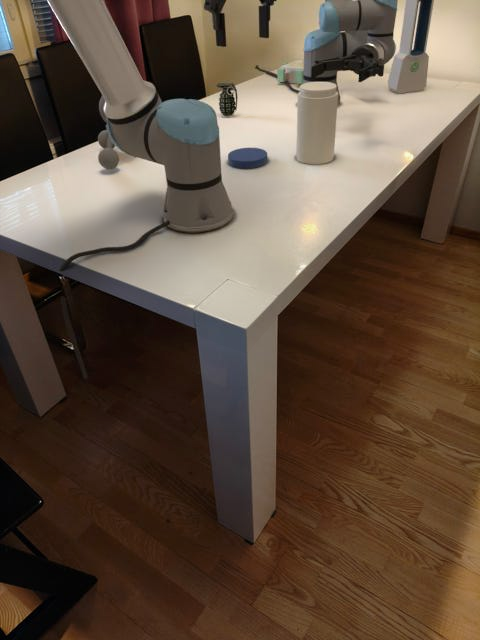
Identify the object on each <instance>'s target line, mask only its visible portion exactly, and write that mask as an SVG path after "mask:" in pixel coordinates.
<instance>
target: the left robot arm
mask: <svg viewBox="0 0 480 640" xmlns="http://www.w3.org/2000/svg"><path fill="white" fill-rule="evenodd" d="M258 1H259V2H260V4H261V5H258V38H260V39H261V38H262V39H269V38H270V21H271V6H274V5H275V2H277V1H278V0H258ZM46 2H47V3H48V5H49V6H50V8H51V11H52V12H53V14H54V15H55V18H56V19H57V20H58V22H59V24H60V25H61V27H62V29H63V30H64V32H65V34H66V35H67V37H68V39H69V40H70V42H71V44H72V46H73V48H74V49H75V51H76V53H77V54H78V56H79V57H80V59H81V62H83V65H84V67H85V68H86V69H87V72H88V73H89V74H90V77H91V78H92V80H93V82H94V83H95V85H96V86H97V88H98V90H99V92H100V93H101V96H102V95H103V97H104V99H105V100H106V102H105V105H104V113H105V115H106V120H107V123H106V124H105V128H106V130H107V133H108V135H109V138H110V140H111V141H112V143H113V144H114V145H115V148H117V149H118V150H120V151H121V152H122V153H124V154H127V156H130V157H133V158H138V159H142V160H145V161H148V162H152V163H154V164H157V165H162V166H163V168H164V173H165V180H166V190H165V191H166V192H165V196H164V203H163V207H162V218H163V222H162V223H160V224H159V225H157V226H154V227H153V228H151V229H150V230H148V231H146V232H145V233H144V234H142V235H141V236H140V237H139V238H138V240H136V241H135V242H133V243H131V244H127V245H123V246H106V247H99V248H95V249H91V250H86V251H80V252H77V253H75V254H73V255H71V256H69V257H68V258H67V259H66V260H65V261H64V262H63V263H62V264H61V265H60V268H59V269H58V270H59V272H63V271H65V270H66V269H67V267H68V266H69V265H70V264H71V263H72V262H73V261H75V260H77V259H79V258H82V257H83V258H84V257H86V256H93V255H96V254H101V253H107V252H124V251H129V250H132V249H135V248H137V247H138V246H140V245H141V244H142V243H143V242H144V241H145V240H146V239H147V238H148V237H149V236H151V235H153V234H154V233H156V232H158V231H160V230H161V229H163V228H166V227H168V228H169V229H171V230H173V231H177V232H180V233H190V234H191V233H192V234H193V233H194V234H195V233H196V234H197V233H205V232H206V233H207V232H210V231H215V230H216V229H220V228H222V227H224V226H226V225H227V224H228V223H230V221H231V220H232V218H233V216H234V212H233V211H234V210H233V205H232V201H231V200H230V197H229V195H228V192H227V190H226V187H225V184H224V182H223V175H222V174H223V173H222V158H221V140H220V126H219V124H218V115H217V111H216V110H215V109H214V108H213V107H212V106H211V105H210V104H208V103H207V102H204V101H201V100H199V99H192V98H190V99H186V98H173V99H168V100H165V101H162V98H161V97H160V95H159V93H158V90H157V89H156V87H155V85H154V84H153V83H152V82H150V81H146V80H143V78H142V75H141V73H140V71H139V69H138V67H137V65H136V63H135V61H134V59H133V57H132V55H131V53H130V52H129V49H128V47H127V45H126V44H125V41H124V39H123V37H122V35H121V34H120V31H119V29H118V26H117V25H116V23H115V21H114V19H113V17H112V15H111V13H110V11H109V9H108V7H107V6H106V3H105V1H104V0H46ZM226 3H227V0H204V4H203V10H204V11H208V12H209V13H210V14H211V17H212V28H213V31H215V41H216V42H215V43H216V45H215V46H216V47H222V48H225V47H227V32H226V16H225V12H222V11H223V9H224V7H225V4H226ZM60 302H61V308H62V309H61V310H62V314H63V318H64V323H65V327H66V329H67V332H68V336H69V340H70V342H71V345H72V347H73V350H74V353H75V356H76V358H77V361H78V364H79V367H80V370H81V373H82V374H81V375H82V376H83V380H88V379H89V376H88V373H87V370H86V367H85V363H84V360H83V357H82V355H81V352H80V350H79V346H78V343H77V341H76V338H75V335H74V331H73V329H72V325H71V321H70V317H69V312H68V307H67V300H66V296H63V295H60Z"/></svg>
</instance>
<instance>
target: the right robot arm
mask: <svg viewBox="0 0 480 640" xmlns="http://www.w3.org/2000/svg"><path fill="white" fill-rule="evenodd" d="M398 1H399V0H324V2H322V3H321V4H320V5H319V10H318V26H319V27H318V28H319V29H315V30H312V31H309V32H308V33H307V34H306V35H305V36H304V43H303V59H304V70H303V83H302V84H304V83H309V82H330V83H334V84H336V85H337V89H336V91H337V92H338V103H337V107H338V106H340V105H341V99H342V98H341V94H340V90H339V85H338V80H337V79H338V72H346V71H350V72H353V73H354V74H356V75H358V82H357V83H362V82H364V81H366V80H367V79H370V78H372V77H373V78H374V77H376V76H377V77H381V78H382V77H384V71H385V65H386V64H387V63H389V62H390V61H391V60H392V59H393V58H394V56H395V55H396V51H397V45H396V42H395V39H394V31H395V25H396V18H397V12H398ZM254 69H255V70H258V71H259V72H260V73H261V72H262V73H265V74H267V75H271V76H273V77H275V78H277V73H275V72H271V71H270V70H266V69H263V68H260V66H259V65H258V64H256V65H255V67H254ZM283 83H284V84H285V85H286V86H287V87H288V88H289V90H291V91H292V92H294V93H296V94H298V93H299V92H300V90H299V89H296V88H294V87H293V86H292V85H291V83H288V82H287V81H285V82H283ZM302 84H301V85H302ZM296 104H297V105H298V101H297V103H296Z"/></svg>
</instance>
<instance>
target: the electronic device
mask: <svg viewBox="0 0 480 640" xmlns="http://www.w3.org/2000/svg"><path fill="white" fill-rule="evenodd" d="M434 3H435V0H405V5H404V13H403V20H402V27H401V35H400V41H399V42H400V43H399V50H398V52H397V53H395V54H394V56H393V60H392V64H391V67H390V71H389V75H388V79H387V87H388V89H389V90H390V91H392V92H394V93H397V94H403V93H404V94H406V93H412V92H413V93H414V92H421V91H424V90H425V89H426V87H427V82H428V70H429V59H430V56H429V54H428V53H427V52H426V51H427V45H428V41H429V40H428V39H429V35H430V28H431V22H432V15H433V10H434V5H435V4H434Z"/></svg>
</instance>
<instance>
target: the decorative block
mask: <svg viewBox="0 0 480 640" xmlns="http://www.w3.org/2000/svg"><path fill="white" fill-rule="evenodd" d="M303 70H304V58H303V59H297V60H295V61H292V62H287V61H286V62H282V65H281V66H279V68H277V71H276V72H277V73H276V74H277V77H276V78H277V80H276V81H277V82H279V83H284V82H285V81H287V82H288V83H289V84H298V85H302V83H303Z"/></svg>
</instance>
